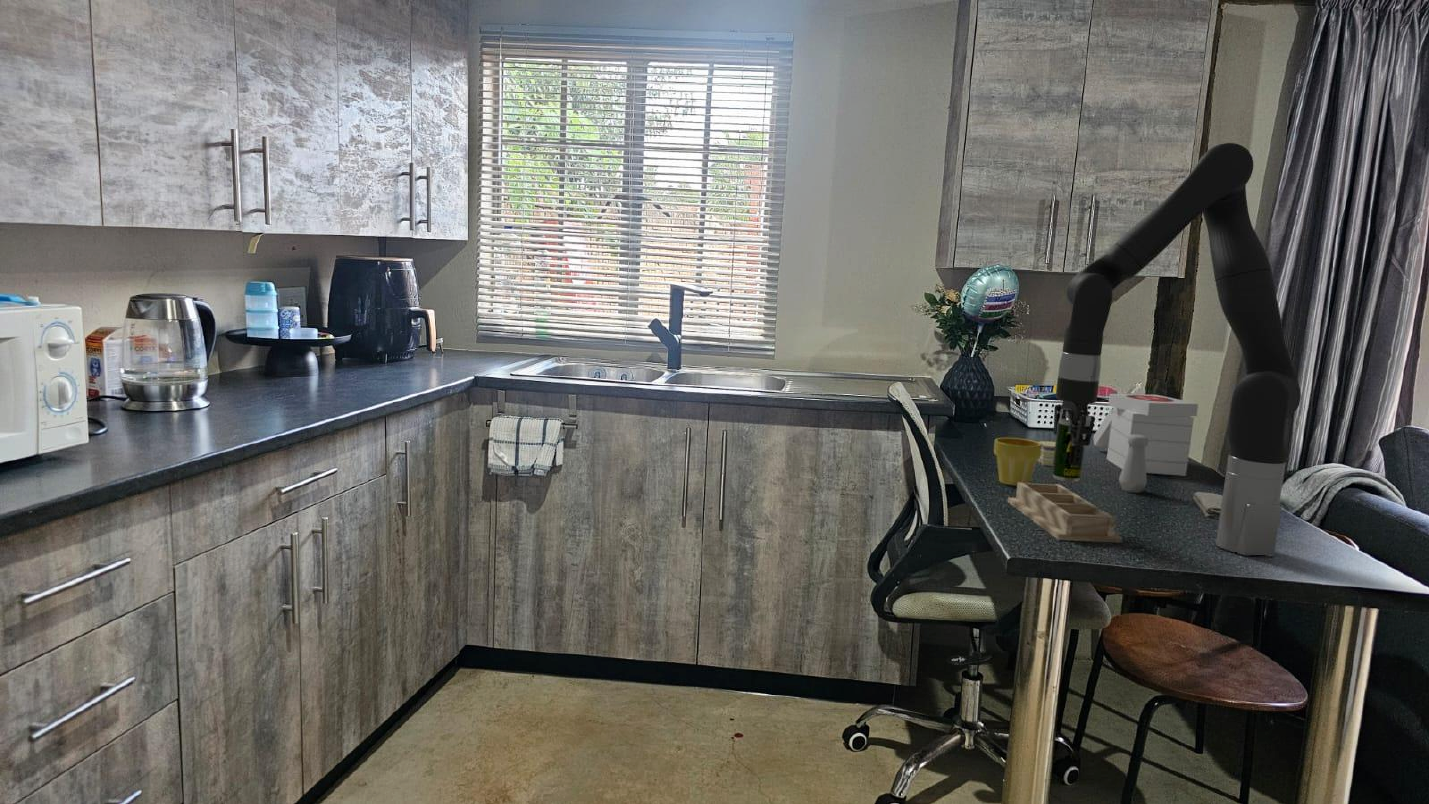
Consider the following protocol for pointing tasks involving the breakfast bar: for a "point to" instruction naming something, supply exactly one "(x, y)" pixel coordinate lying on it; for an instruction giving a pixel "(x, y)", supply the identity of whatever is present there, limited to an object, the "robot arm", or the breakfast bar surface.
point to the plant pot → (1016, 459)
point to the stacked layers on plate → (1047, 453)
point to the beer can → (1065, 455)
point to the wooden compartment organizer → (1064, 513)
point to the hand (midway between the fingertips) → (1068, 461)
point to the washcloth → (1209, 503)
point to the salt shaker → (1134, 465)
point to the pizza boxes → (1149, 430)
